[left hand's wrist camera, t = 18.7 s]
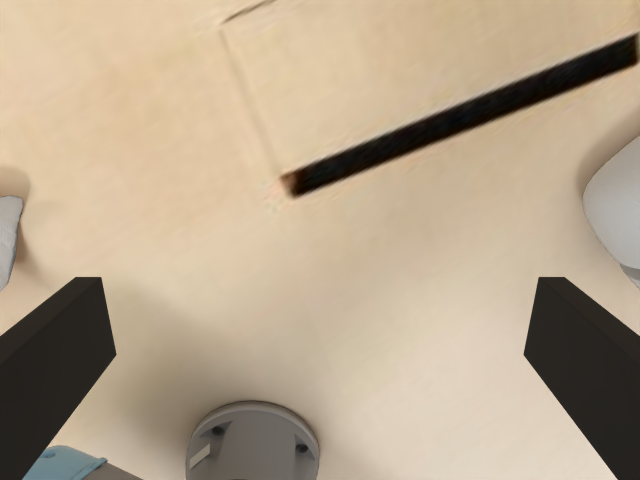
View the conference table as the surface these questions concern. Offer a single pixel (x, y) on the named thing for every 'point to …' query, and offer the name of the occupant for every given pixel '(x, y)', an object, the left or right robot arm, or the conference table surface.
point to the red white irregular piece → (8, 235)
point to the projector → (618, 208)
